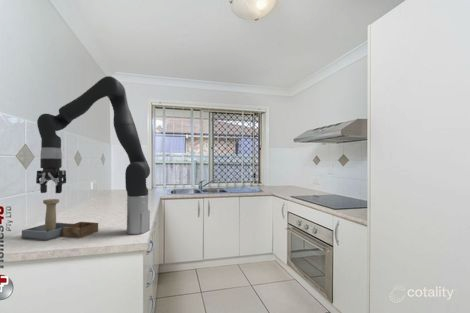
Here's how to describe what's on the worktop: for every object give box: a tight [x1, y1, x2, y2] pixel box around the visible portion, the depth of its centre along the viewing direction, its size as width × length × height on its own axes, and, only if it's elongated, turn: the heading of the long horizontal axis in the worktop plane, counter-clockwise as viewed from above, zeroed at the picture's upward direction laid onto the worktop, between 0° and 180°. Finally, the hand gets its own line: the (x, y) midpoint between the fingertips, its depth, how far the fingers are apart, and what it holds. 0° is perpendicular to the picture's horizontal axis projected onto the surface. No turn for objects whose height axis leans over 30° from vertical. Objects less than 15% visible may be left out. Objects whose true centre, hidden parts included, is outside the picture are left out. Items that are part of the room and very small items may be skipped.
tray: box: [21, 222, 72, 242], centre depth 99 cm, size 14×13×4 cm
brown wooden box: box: [61, 221, 99, 239], centre depth 100 cm, size 10×9×4 cm
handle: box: [42, 198, 60, 232], centre depth 99 cm, size 5×6×15 cm
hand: (51, 193), depth 99 cm, fingers open, 8 cm apart
